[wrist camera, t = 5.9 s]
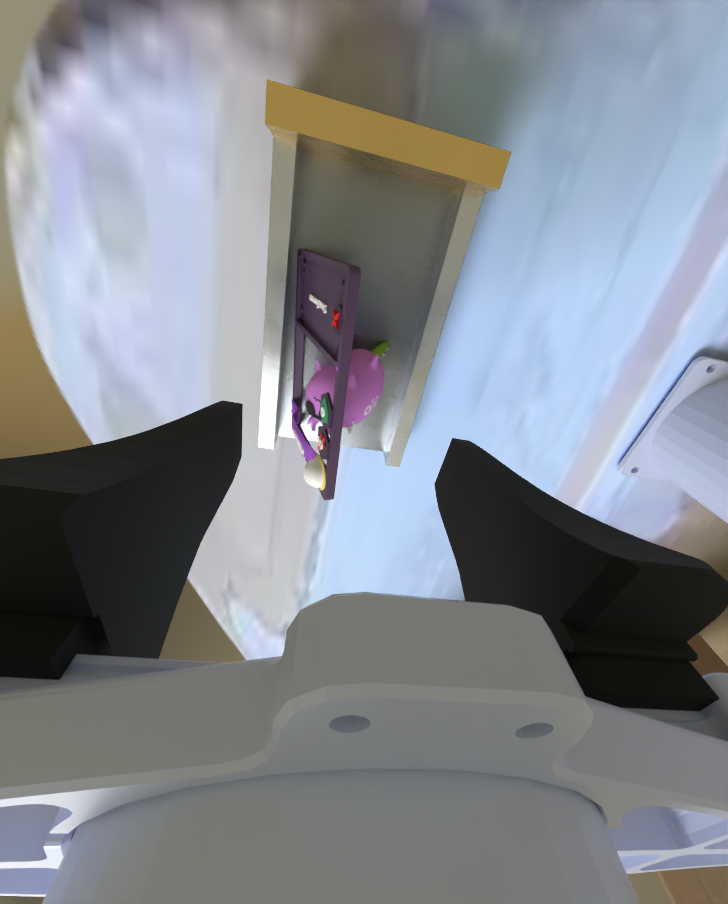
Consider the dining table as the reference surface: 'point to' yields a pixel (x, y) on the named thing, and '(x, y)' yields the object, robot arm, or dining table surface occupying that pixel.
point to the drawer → (367, 247)
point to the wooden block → (706, 888)
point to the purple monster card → (331, 363)
